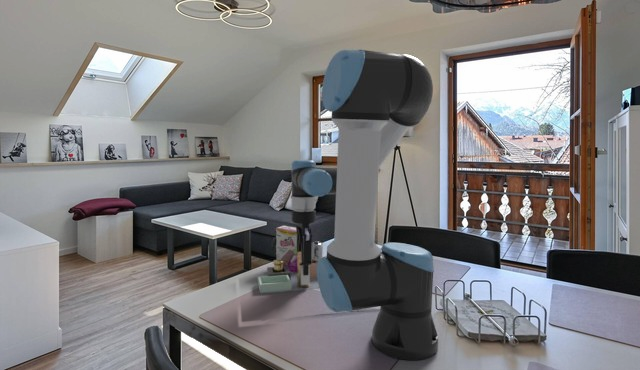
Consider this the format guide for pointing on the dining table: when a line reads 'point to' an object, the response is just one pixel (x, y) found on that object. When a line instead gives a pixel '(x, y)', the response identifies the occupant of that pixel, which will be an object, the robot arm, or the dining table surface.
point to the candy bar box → (287, 246)
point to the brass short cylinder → (278, 265)
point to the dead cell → (316, 251)
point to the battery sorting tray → (285, 280)
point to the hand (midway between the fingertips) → (303, 281)
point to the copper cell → (299, 271)
